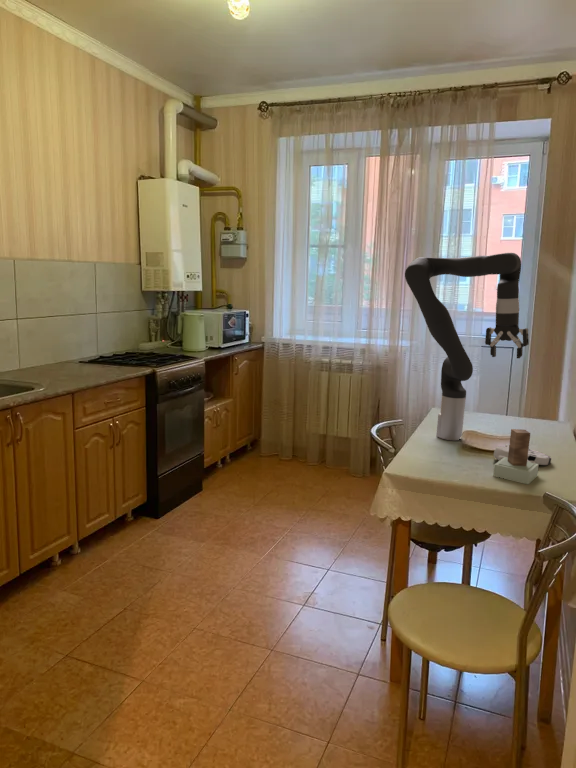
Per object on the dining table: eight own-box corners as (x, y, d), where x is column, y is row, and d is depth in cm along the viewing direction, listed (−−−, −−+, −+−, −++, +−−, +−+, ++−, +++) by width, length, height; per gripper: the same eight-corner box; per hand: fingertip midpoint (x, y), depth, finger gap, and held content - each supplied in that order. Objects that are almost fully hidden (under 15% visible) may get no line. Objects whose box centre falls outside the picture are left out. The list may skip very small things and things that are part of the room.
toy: (478, 451, 212) (501, 466, 193) (480, 439, 212) (504, 453, 192) (533, 460, 214) (562, 476, 194) (536, 448, 214) (565, 463, 194)
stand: (493, 476, 186) (494, 463, 185) (503, 468, 195) (504, 456, 194) (528, 484, 180) (529, 471, 179) (537, 475, 188) (538, 463, 188)
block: (512, 465, 184) (516, 432, 182) (507, 461, 189) (511, 428, 187) (526, 466, 184) (530, 433, 182) (521, 461, 189) (525, 429, 187)
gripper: (483, 312, 199) (482, 358, 203) (525, 312, 191) (524, 360, 194) (490, 310, 205) (489, 354, 208) (531, 310, 196) (530, 356, 200)
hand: (506, 357), depth 201 cm, fingers open, 8 cm apart
